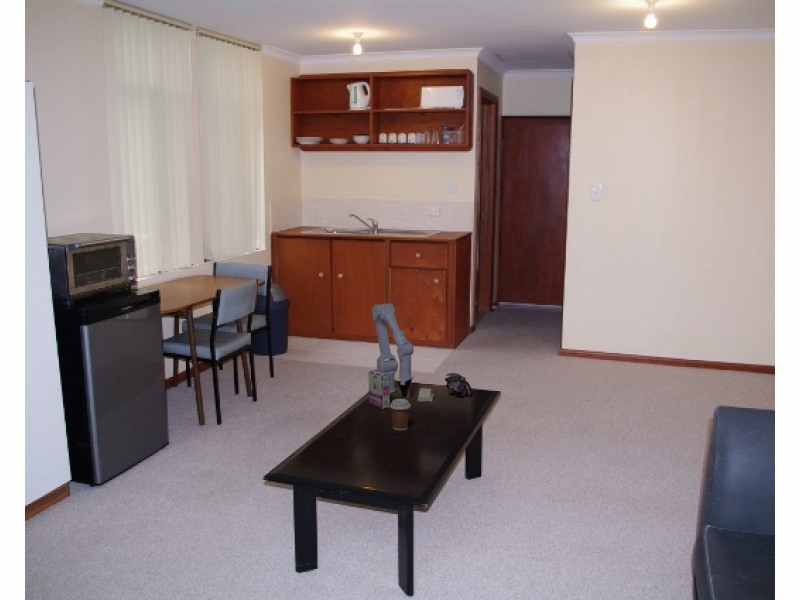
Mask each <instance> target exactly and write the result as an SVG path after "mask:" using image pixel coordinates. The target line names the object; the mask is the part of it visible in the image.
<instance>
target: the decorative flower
mask: <svg viewBox="0 0 800 600" xmlns="http://www.w3.org/2000/svg"><path fill="white" fill-rule="evenodd" d="M445 376H446V377H445V378H444V381H445V382H446V384H445V386H446V388H447V389H448V390H447V391H446V392H447V393H448V395H449V394H450V395H453V394H457V395H459V396H460V398H461V399H463V398H464V397H465V396H466V394H467V393H468V398H470V397H472V395H473V391H472V387H471V386H472V385H470V383H469V381H468V380H467V379H466V377H465V376H462V375H461V374H460V373H456V372H452V373H451V372H450V373H447V374H445Z"/></svg>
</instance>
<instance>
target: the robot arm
mask: <svg viewBox="0 0 800 600" xmlns="http://www.w3.org/2000/svg"><path fill="white" fill-rule="evenodd" d="M371 312H372V318H373V322H374V324H375V330H376V336H377V342H378V346H379V348H378V349H379V351H380V352H379V354H380V355H379V356H378V357H377V359H376V370H379V371H382V372H385V373H388V374H390V393H395V391H396V390H397V386H396V385H395V381H396V380H395V378H396V377H395V376H396V374H395V373H397V372H398V373H399V377H398V379H399V382H398V383H397V384H398V387H399V389H400V395H401V394H402V397H407V392H408V388H409V389H410V388H411V387H410V386H411V384H412V381H413V379H414V376H412V355H413V354H414V352H415V350H414V349H415V348H414V345H413V344H412V343H411V342H410V341H409V340H408V339H407V337H406V335H405V333H404V331H403V330H401V329H400V326H399V324H398V321H397V319H396V316H395V314H396V309H395V306H394V305H393V303H392V302H389V303H383V304H374V305H373V307H372V309H371ZM387 324H388V326H389V328H390V329H391V331H392V339H393V341H394V343H395V345H396V347H397V349H396V353H397V357H398V360H399V363H398V361H397V357H396V355H394V354H393V353H392V352H391V346H390V341H389V334H388V329H387ZM398 369H399V371H398ZM395 386H396V387H395Z"/></svg>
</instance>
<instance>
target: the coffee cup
mask: <svg viewBox="0 0 800 600" xmlns="http://www.w3.org/2000/svg"><path fill="white" fill-rule="evenodd" d="M411 407H412V405H411V403H410V402H409V399H401V398H395V399H393V400H392V401H391V402H390V408H389V409H390V410H391V420H392V422H391V423H392V429H393V430H395V431H405V430H407V429H408V427H409V426H408V425H409V415H410V408H411Z"/></svg>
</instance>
